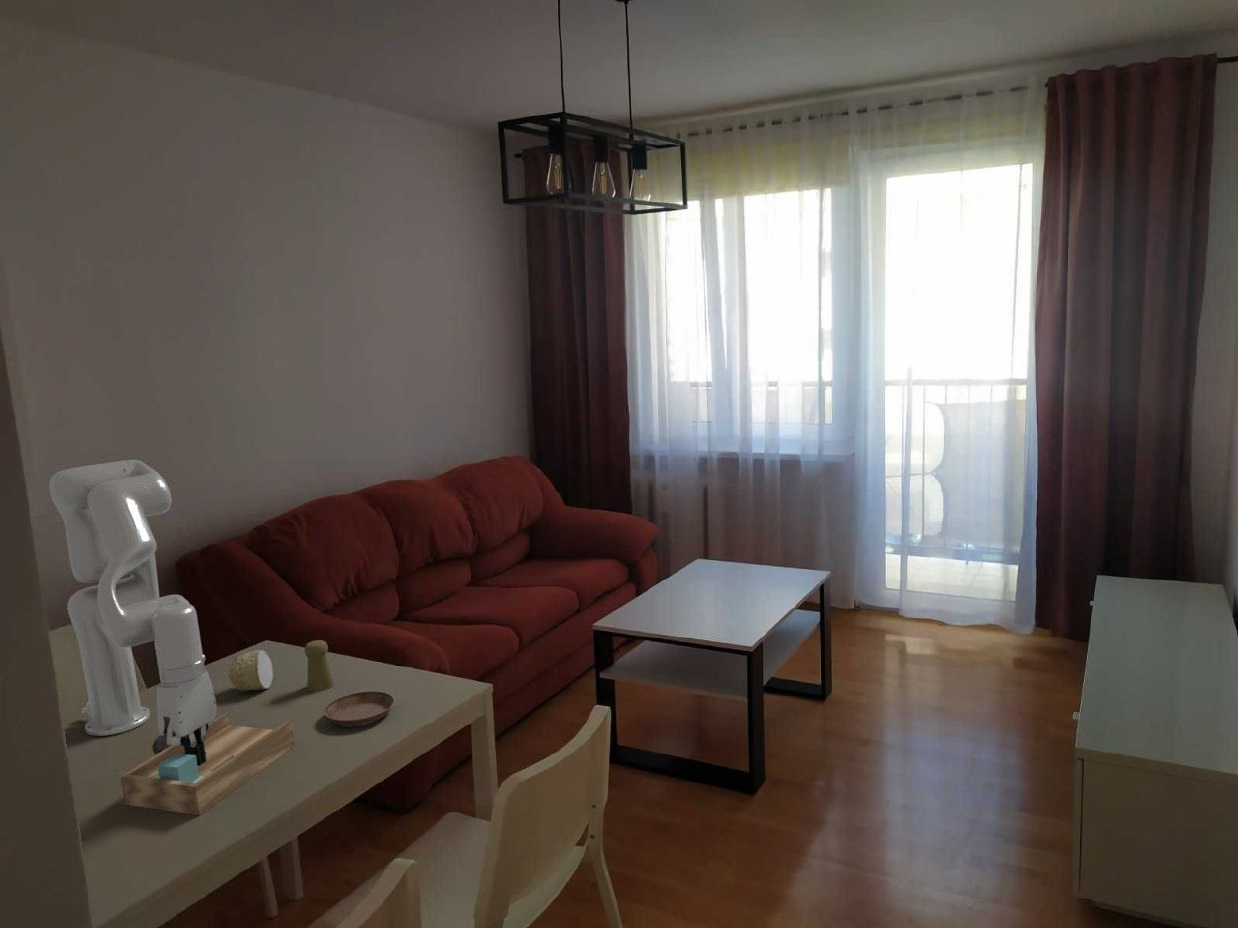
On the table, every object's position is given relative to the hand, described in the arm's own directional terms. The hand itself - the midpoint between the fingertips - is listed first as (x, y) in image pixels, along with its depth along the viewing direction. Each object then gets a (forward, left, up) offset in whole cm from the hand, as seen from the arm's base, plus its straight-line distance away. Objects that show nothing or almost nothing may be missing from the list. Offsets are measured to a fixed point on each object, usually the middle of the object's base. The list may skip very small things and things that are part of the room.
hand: (196, 763), depth 168 cm
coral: (-21, +40, -5) cm, 46 cm away
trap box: (0, +4, -4) cm, 6 cm away
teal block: (0, -5, -1) cm, 5 cm away
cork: (-5, +44, -5) cm, 45 cm away
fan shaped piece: (-20, +15, -5) cm, 25 cm away
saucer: (+14, +32, -5) cm, 35 cm away
